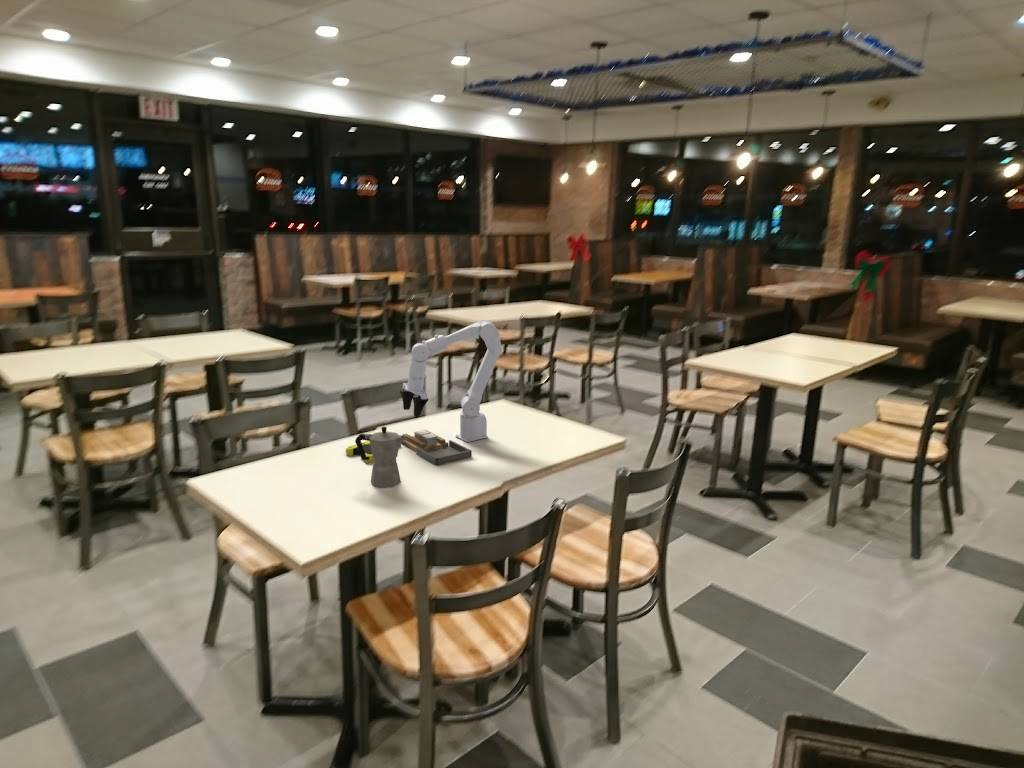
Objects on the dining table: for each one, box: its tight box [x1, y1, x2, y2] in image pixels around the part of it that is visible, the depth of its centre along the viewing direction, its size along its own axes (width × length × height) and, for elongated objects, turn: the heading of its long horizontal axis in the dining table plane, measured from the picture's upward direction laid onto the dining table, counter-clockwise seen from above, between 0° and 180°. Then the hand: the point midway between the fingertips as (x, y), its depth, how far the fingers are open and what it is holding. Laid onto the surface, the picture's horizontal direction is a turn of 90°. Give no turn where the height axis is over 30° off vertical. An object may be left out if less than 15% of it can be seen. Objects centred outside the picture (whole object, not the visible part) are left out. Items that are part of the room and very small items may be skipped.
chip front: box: [422, 432, 438, 447], centre depth 236 cm, size 4×4×3 cm
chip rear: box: [414, 429, 431, 442], centre depth 239 cm, size 4×4×3 cm
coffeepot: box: [354, 426, 406, 489], centre depth 203 cm, size 15×9×18 cm, turn 90°
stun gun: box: [344, 440, 402, 464], centre depth 231 cm, size 3×19×15 cm
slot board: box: [401, 429, 449, 453], centre depth 239 cm, size 12×14×3 cm
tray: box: [415, 439, 473, 466], centre depth 229 cm, size 14×13×2 cm
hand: (411, 412), depth 242 cm, fingers open, 7 cm apart
